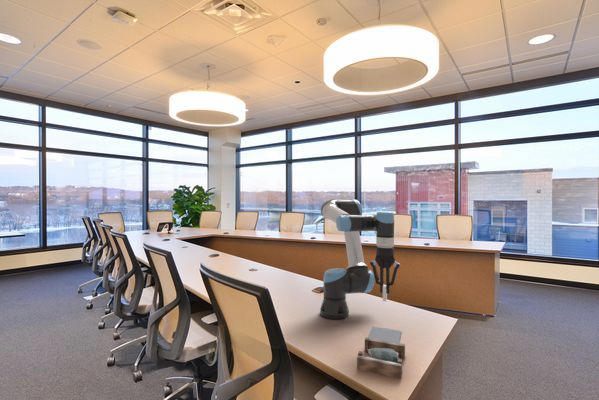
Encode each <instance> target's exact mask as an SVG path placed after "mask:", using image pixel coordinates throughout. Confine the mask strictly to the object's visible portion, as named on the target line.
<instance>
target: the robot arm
mask: <svg viewBox="0 0 599 400" xmlns="http://www.w3.org/2000/svg"><path fill="white" fill-rule="evenodd" d="M320 214H321V216H322V217H323V218H325V219H326V220H329V221H332V222H333V223H335V226H336V228H337V231H339V232H343V234H344V241H345V246H346V256H347V262H348V266H347V267H346V268H342V267H335V268H329V269H327V270H325V272H324V273H323V279H322V281H323V299H322V302H321V306H320V308H319V309H320V310H319V313H320V316H322V317H324V318H326V319H329V320H331V319H332V320H341V319H346V318H348V317H349V316H350V309H349V306H348V303H347V294H349V295H350V294H366V293H370V292H371V291H372V290H373V288H374V285H375V283H376V284H377V285H379V287H380V288H379V289H380V290H379V291H380V294H382V302H387V300H388V294H389V293H390V287H391V286H394V284H395V280H396V276H397V272H398V269H399V268H400V266H401V263H400V262H397V261H396V258H395V248H394V246H395V214H394V212H392V211H377V212H376V214H363V208H362V204H361V203H360V201H359V200H358V199H351V198H347V199H346V198H345V199H344V198H343V199H340V198H339V199H336V198H333V199H329V200H326V201H325V202H323V204H322V205H321V207H320ZM360 232H376V235H375V236H376V237H375V238H376V240H375V241H376V243H375V245H376V247H375V248H376V249H375V252H376V255H375V258H374V260H371V261H370V262H369V264H370V266H371V268H372V270H371V269H369V266H368V264H366V263H365V259H364V252H363V247H362V241H361V235H360ZM377 265H378V267H379V273H378V269H377ZM391 267H394V269H393V273H392V276H391V275H390V274H391V272H390V270H391ZM384 269H385V270H384ZM384 272H385V273H384ZM390 277H391V280H390ZM385 278H386V279H385ZM384 279H385V280H386V281H384ZM384 282H385V284H384Z"/></svg>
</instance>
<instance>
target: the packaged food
mask: <svg viewBox="0 0 599 400" xmlns="http://www.w3.org/2000/svg"><path fill="white" fill-rule="evenodd" d="M367 350H368V349H367ZM367 353H368V355H369V358H374V359H379V360H384V361H389V362H394V363H398V359H400V358H399V356H398V355H399V353H397V352H396V351H394V350H393V349H388V348H372V349H369V350H368V352H367ZM402 366H404V364H403V363H402Z"/></svg>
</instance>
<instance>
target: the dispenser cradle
mask: <svg viewBox="0 0 599 400" xmlns="http://www.w3.org/2000/svg"><path fill="white" fill-rule="evenodd" d="M372 348H388V349H393V350H394V351H396V352H397V353H399V355H398V357H400V358H399V359H398V363H394V362H389V361H384V360H379V359H374V358H371V357H370V356H369V357H368V356H363V355H364V354H363V353H364V352H365V353H368V352H369V351H368V350H369V349H372ZM367 349H368V350H367ZM364 352H363V351H360V350H359V351H358V353H357V357H356V369H357V370H359V371H364V372H367V373H368V372H369V373H373V374H378V375H381V376H386V377H387V376H388V377H391V378H396V379H402V377H403V365H402V364H403V360H406V358H405V357H406V344H405V343H399V344H397V343H392V342H386V341H380V340H375V339H369V338H368V336H365V337H364Z"/></svg>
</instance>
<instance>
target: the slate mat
mask: <svg viewBox="0 0 599 400" xmlns="http://www.w3.org/2000/svg"><path fill="white" fill-rule="evenodd" d="M401 335H402V330H398V329H390V328H383V327H379V326H372V327H371V328H370V331H369V333H368V336H367V337H368V338H369V339H375V340H380V341H386V342H392V343H397V344H400V341H401V337H402V336H401Z"/></svg>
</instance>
